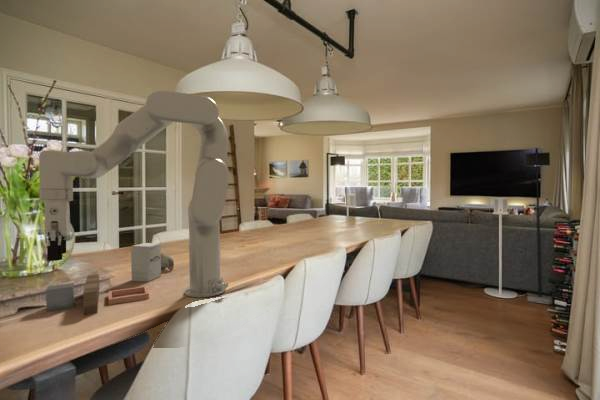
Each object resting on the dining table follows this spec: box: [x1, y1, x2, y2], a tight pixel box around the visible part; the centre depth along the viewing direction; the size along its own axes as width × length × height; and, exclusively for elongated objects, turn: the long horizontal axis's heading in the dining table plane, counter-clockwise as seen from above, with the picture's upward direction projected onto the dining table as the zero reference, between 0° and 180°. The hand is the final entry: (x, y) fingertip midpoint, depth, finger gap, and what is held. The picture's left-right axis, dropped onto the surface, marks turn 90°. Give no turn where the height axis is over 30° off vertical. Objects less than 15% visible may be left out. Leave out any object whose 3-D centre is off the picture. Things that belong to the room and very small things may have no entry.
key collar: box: [108, 285, 150, 305], centre depth 103 cm, size 11×9×2 cm
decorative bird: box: [161, 252, 175, 272], centre depth 139 cm, size 5×16×8 cm, turn 54°
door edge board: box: [82, 273, 100, 316], centre depth 98 cm, size 20×3×6 cm, turn 29°
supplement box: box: [130, 242, 162, 282], centre depth 124 cm, size 7×7×13 cm
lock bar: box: [45, 282, 75, 313], centre depth 95 cm, size 6×4×6 cm, turn 119°
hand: (57, 256), depth 94 cm, fingers open, 9 cm apart
